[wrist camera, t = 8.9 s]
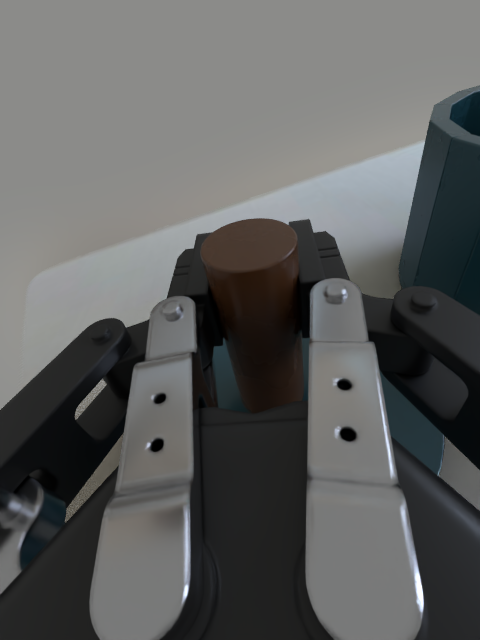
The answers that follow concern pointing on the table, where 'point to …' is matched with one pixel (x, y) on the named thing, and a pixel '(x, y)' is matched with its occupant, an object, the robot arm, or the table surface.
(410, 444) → the lid
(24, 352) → the table surface
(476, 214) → the pot
